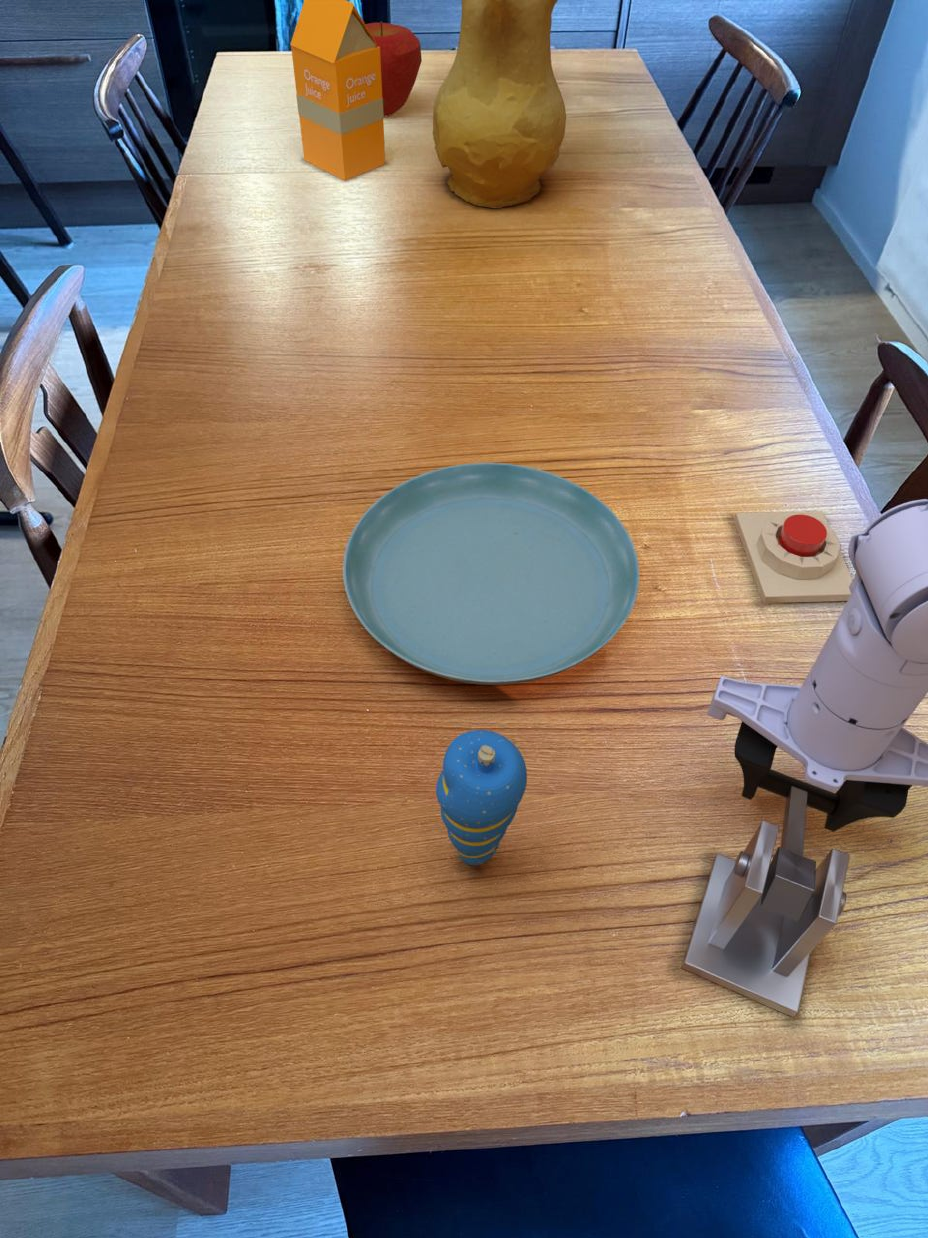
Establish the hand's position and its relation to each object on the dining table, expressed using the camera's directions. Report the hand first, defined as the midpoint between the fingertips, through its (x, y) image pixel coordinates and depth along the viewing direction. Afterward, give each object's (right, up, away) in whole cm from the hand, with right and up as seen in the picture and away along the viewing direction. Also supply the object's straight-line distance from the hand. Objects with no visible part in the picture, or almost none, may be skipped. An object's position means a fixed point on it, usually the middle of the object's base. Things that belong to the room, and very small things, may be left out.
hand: (789, 801), depth 61 cm
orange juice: (-39, +76, +65) cm, 107 cm away
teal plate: (-20, +15, +15) cm, 29 cm away
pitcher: (-17, +72, +62) cm, 96 cm away
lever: (-2, -2, -5) cm, 6 cm away
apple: (-34, +90, +76) cm, 123 cm away
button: (+7, +19, +16) cm, 26 cm away
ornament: (-21, -4, -1) cm, 22 cm away
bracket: (-4, -8, -4) cm, 9 cm away
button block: (+7, +18, +18) cm, 26 cm away
